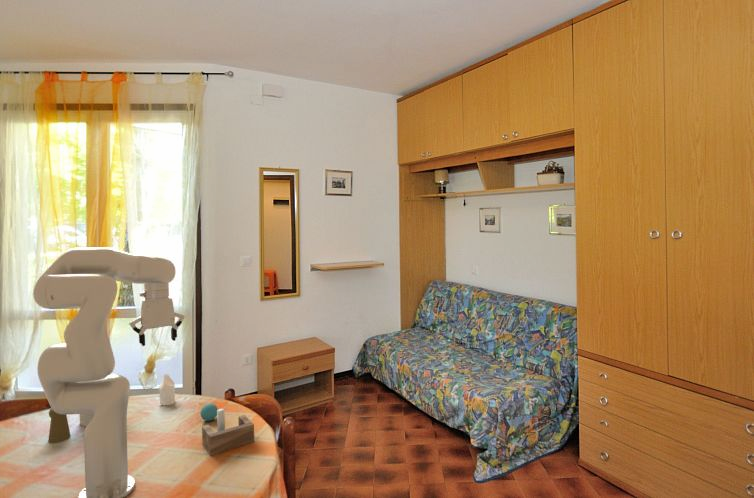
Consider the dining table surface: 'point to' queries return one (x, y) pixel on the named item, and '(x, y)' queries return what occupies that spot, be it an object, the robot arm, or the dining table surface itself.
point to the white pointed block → (167, 391)
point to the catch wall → (228, 436)
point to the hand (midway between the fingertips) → (158, 342)
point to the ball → (209, 412)
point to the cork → (58, 427)
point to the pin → (220, 420)
